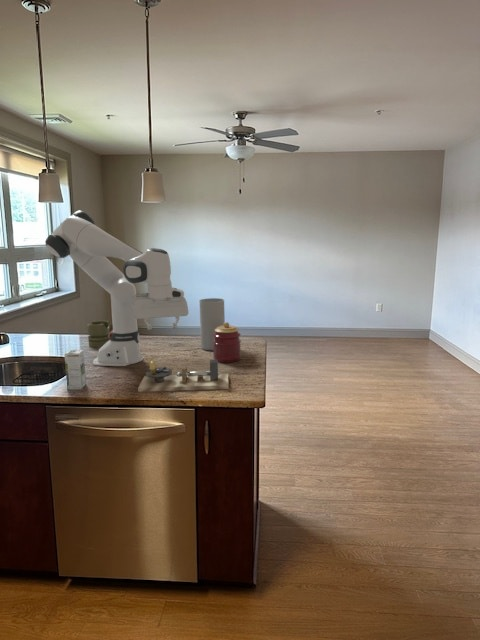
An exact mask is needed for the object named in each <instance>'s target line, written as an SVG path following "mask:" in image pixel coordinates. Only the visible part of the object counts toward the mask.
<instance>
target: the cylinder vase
mask: <svg viewBox="0 0 480 640" xmlns="http://www.w3.org/2000/svg"><path fill="white" fill-rule="evenodd" d="M225 315H226V314H225V299H224V298H214V297H213V298H212V297H211V298H201V299H199V324H200V328H199V330H200V346H201V347H200V348H201V349H202V350H204V351H210V352H211V351H213V352H214V347H213V341H214V337H213V334H214V333H215V331H214V330H215V329H216V328H217V327H219V326H224V323H225V320H226V319H225V318H226V316H225Z"/></svg>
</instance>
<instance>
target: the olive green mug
mask: <svg viewBox="0 0 480 640" xmlns="http://www.w3.org/2000/svg"><path fill="white" fill-rule="evenodd" d="M86 327H87V335H88V336H87V339H88V347H90V348H101V347H102V346H103V345H104V344H105V343H107V342H108V341H109V340H110V339H109V336H108V335H109V334H110V332H111V331H110V321H108V320H95V321H91V324H89V323H87V324H86Z"/></svg>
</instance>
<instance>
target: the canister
mask: <svg viewBox="0 0 480 640" xmlns="http://www.w3.org/2000/svg"><path fill="white" fill-rule="evenodd" d="M214 331H215V333H214V334H213V337H214V341H213V347H214V351H213V354H212V355H213V360H218V362H219V363H235V362H238V361H240V360H241V357H242V353H241V342H242V341H241V338H240V336H241V333H240V332H239V331H240V330H239V328H238V327H237V326H235V325H230V323H229V322H227V321H226V322H225V323H224V326H219V327H217V328H216V329H215V330H214Z"/></svg>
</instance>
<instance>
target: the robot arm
mask: <svg viewBox="0 0 480 640" xmlns="http://www.w3.org/2000/svg"><path fill="white" fill-rule="evenodd" d="M45 239H46V240H45V247H46V248H47V250H48V251H49V252H50V253H51V254H52V255H53V256H55V257H57V258H59V259H65V258H67V257H69V258H71V260H73V262H74V263H75V264H76V265H77V266H78V267H79V268H81V270H82V271H83V272H84V273H86V274H87V275H88V276H89V277H90V279H92V280H93V281H94V282H96V283H97V284H98V285H99V286H100V287H101V288H102V289H104V290H105V291H106V292H107V293H108V294H109V295H110V305H111V306H110V308H111V322H112V330H111V331H110V333H108V334H109V335H108V336H109V339H110V340H109V341H108V342H107V343H105V344H104V345H103V346H102V347H99V349H98V353H97V357H95V358H94V359H93V361H92V364H93V366H99V367H100V366H101V367H105V366H106V367H108V366H109V367H126V366H129V365H133V364H137V363H140V362H142V361H143V359H144V358H143V355H142V351H141V348H140V333H139V332H140V331H139V329H138V320H141V319H143V322H144V323H145V325H146V327H147V331H151V330H152V324H150V323H149V322H148V321H149V319H158V318H174V317H175V322H172V329H178V325H177V324H178V323H179V321H180V317H187V316H188V315H189V306H188V301H187V300H186V298H185V291H184V290H183V289H181V288H176V287H173V285H172V280H171V275H172V269H171V268H172V267H171V261H170V256H169V253H168V252H167V251H166V250H165V249H161V248H154V247H152V248H148V249H146V251H145V252H142V251H140V250H138V249H137V248H135V247H133V246H131V245H129V244H128V243H126V242H124V241H121V240H120V239H118V238H116V237H114V236H113V235H111V234H110V233H108V232H106V231H104V229H101V227H99V226H97V225H96V224H95V221H94V219H92V216H91V215H90V214H88V213H86V211H83V210H77V211H76V210H75V212H73V213H71V215H70V216H68V217H66V218H65V219H64V220H63V221H62V222H60V224H59V225H58V226H57V227H56V228H55V229H54V231H53V232H52V233H51V234H49V235H48V236H47V238H45ZM108 258H116V259H120V260H123V261H124V264H123V266H122V267H123V269H122V270H123V271H121V270H120V269H119V268H118V267H117V266H116V265H115V264H114V263H113V262H112V261H111V260H110V259H108ZM139 284H147V292H146V293H137V289H136V286H135V285H139Z"/></svg>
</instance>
